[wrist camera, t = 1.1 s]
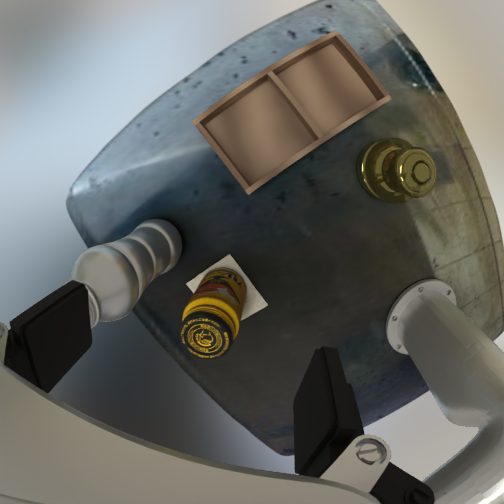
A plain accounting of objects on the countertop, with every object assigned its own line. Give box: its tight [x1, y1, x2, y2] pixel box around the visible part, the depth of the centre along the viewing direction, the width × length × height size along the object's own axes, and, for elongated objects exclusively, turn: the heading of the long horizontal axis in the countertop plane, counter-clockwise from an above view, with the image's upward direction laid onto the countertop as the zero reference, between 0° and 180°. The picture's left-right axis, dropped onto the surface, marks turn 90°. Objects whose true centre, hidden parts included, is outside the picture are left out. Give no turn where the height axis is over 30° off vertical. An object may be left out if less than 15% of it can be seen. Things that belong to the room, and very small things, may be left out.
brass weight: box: [357, 138, 437, 204], centre depth 26 cm, size 7×7×10 cm
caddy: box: [192, 30, 391, 195], centre depth 28 cm, size 20×10×4 cm, turn 127°
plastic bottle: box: [62, 219, 182, 328], centre depth 26 cm, size 6×7×20 cm
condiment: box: [179, 254, 268, 359], centre depth 31 cm, size 7×8×12 cm
